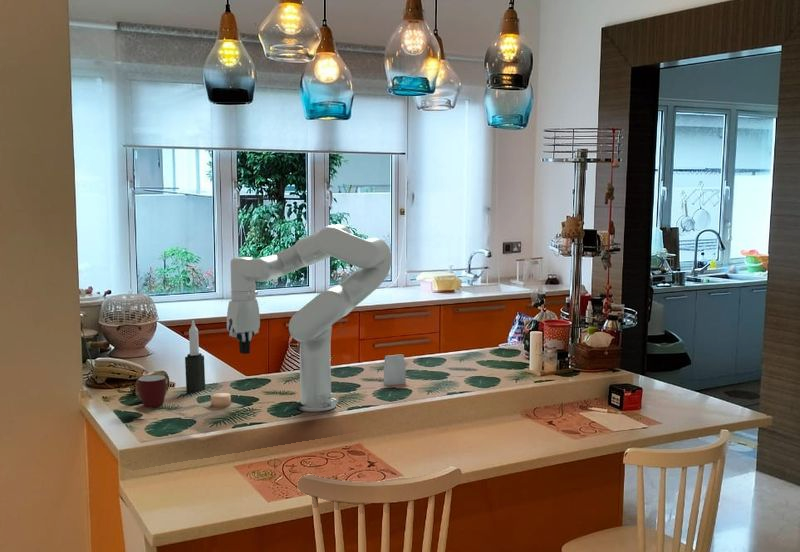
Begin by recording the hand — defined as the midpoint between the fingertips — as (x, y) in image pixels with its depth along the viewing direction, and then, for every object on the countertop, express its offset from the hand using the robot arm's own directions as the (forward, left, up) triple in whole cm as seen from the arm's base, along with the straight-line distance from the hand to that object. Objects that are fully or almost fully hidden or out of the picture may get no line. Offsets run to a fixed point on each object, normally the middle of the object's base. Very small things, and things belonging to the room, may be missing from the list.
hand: (244, 353), depth 249 cm
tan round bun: (0, +10, -15) cm, 18 cm away
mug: (+17, +23, -16) cm, 33 cm away
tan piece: (0, +15, -16) cm, 22 cm away
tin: (+29, +16, -17) cm, 37 cm away
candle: (+22, +4, -16) cm, 28 cm away
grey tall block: (-20, -49, -16) cm, 55 cm away
